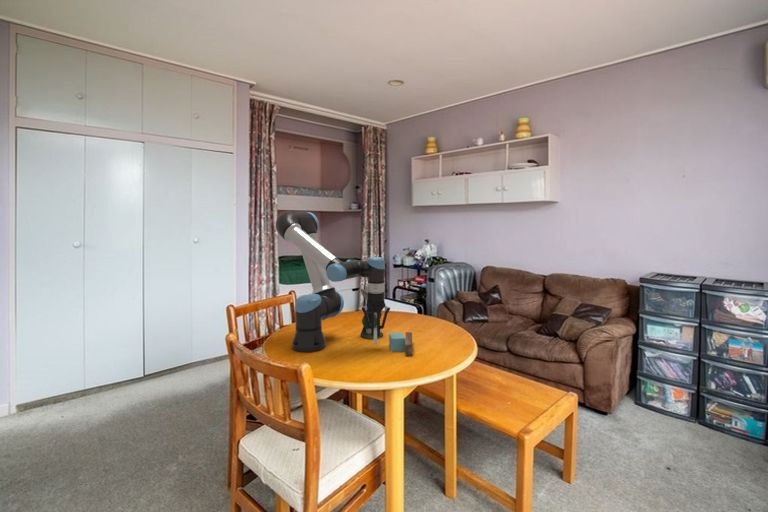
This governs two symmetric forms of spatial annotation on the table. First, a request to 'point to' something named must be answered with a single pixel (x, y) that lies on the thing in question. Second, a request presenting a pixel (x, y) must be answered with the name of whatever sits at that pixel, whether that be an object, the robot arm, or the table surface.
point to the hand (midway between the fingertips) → (375, 343)
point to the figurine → (367, 331)
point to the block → (397, 342)
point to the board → (408, 344)
